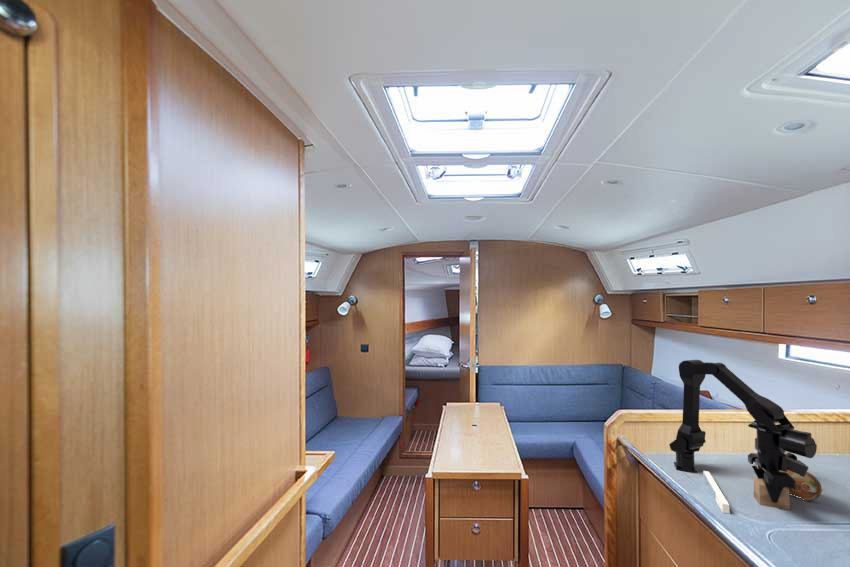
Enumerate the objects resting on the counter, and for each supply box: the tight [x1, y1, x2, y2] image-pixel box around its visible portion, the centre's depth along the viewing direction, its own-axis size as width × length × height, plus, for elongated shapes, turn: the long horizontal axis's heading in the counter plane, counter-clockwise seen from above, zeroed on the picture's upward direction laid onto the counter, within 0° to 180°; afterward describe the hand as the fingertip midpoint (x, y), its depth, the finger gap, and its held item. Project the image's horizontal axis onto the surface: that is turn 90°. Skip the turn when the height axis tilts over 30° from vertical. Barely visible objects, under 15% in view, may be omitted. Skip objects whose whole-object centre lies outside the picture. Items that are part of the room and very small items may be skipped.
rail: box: [702, 470, 731, 514], centre depth 127 cm, size 24×2×2 cm, turn 156°
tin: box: [779, 470, 823, 502], centre depth 127 cm, size 15×3×8 cm, turn 21°
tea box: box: [753, 477, 791, 511], centre depth 121 cm, size 7×5×6 cm
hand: (771, 498), depth 121 cm, fingers closed on tea box, 5 cm apart
